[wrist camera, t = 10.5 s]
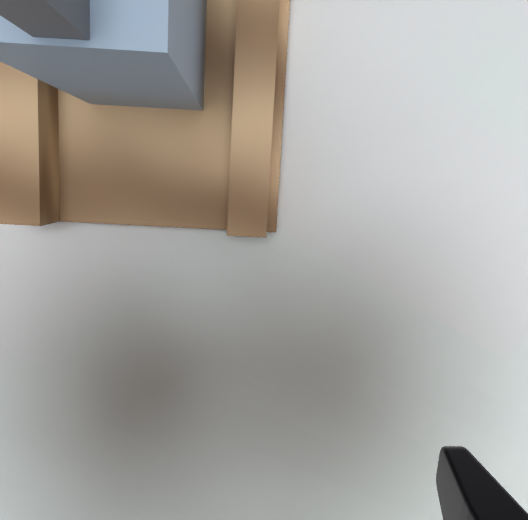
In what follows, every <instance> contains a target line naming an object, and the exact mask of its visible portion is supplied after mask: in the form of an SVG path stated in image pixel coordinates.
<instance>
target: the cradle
mask: <svg viewBox="0 0 528 520" xmlns="http://www.w3.org/2000/svg"><path fill="white" fill-rule="evenodd" d="M289 9H290V0H207V12H206V45H205V79H204V111H201V110H184V109H167V108H149V107H132V106H114V105H97V104H89V103H87V102H85V101H83V100H81V99H79V98H77V97H75V96H72V95H70V94H68V93H66V92H64V91H62V90H60V89H58V88H55V87H53V86H51V85H49V84H47V83H45V82H43V81H41V80H39V79H36V78H34V77H32V76H30V75H28V74H26V73H24V72H22V71H19V70H17V69H15V68H13V67H11V66H9V65H7V64H5V63H3V62H0V224H14V225H33V226H42V225H46V224H50V223H54V222H58V221H66V222H85V223H105V224H124V225H143V226H162V227H182V228H201V229H220V230H227V235H228V236H247V237H266V233H267V232H276V224H277V207H278V191H279V174H280V158H281V141H282V125H283V108H284V91H285V75H286V58H287V42H288V25H289Z"/></svg>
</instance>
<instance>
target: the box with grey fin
mask: <svg viewBox="0 0 528 520" xmlns="http://www.w3.org/2000/svg"><path fill="white" fill-rule="evenodd" d="M206 12H207V0H0V62H3V63H5V64H7V65H9V66H11V67H13V68H15V69H17V70H19V71H22V72H24V73H26V74H28V75H30V76H32V77H34V78H36V79H39V80H41V81H43V82H45V83H47V84H49V85H51V86H53V87H55V88H58V89H60V90H62V91H64V92H66V93H68V94H70V95H72V96H75V97H77V98H79V99H81V100H83V101H85V102H87V103H89V104H97V105H114V106H132V107H149V108H167V109H184V110H201V111H204V79H205V45H206Z"/></svg>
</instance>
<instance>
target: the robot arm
mask: <svg viewBox="0 0 528 520" xmlns="http://www.w3.org/2000/svg"><path fill="white" fill-rule="evenodd" d="M436 484H437V491H438V496H439V500H440V505H441V510H442V515H443V520H528V513H527V512H526V511H525V510H524V509H523V508H522V507H521V506H520V505H519V504H518V503H517V502H516V501H515V500H514V498H513V497H512V496H511V495H510V494H509V493H508V492H507V491H506V490H505V489H504V488H503V487H502V486H501V485H500V484H499V483H498V482H497V480H496V479H495V478H494V477H493V476H492V475H491V474H490V473H489V472H488V471H487V470H486V469H485V468H484V467H483V466H482V465H481V463H480V462H479V461H478V460H477V459H476V458H475V457H474V456H473V455H472V454H471V453H470V452H469V451H468V450H467V449H466V448H464V447H461V446H445V447H442V449H441V450H440V455H439V461H438V468H437V474H436Z"/></svg>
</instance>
